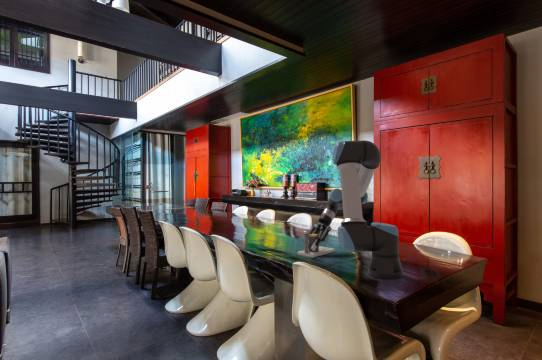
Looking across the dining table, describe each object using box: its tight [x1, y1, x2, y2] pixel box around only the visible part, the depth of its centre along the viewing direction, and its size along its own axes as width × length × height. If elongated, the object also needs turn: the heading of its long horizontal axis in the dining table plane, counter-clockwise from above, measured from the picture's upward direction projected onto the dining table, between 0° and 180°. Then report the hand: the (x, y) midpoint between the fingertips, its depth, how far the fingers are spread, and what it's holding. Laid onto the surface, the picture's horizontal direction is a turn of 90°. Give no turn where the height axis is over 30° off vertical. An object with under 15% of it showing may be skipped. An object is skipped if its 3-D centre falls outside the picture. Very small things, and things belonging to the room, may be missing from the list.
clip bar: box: [292, 227, 310, 235], centre depth 176 cm, size 17×3×2 cm, turn 22°
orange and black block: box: [308, 233, 319, 252], centre depth 173 cm, size 4×4×11 cm
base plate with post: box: [297, 234, 336, 259], centre depth 175 cm, size 21×11×13 cm, turn 132°
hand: (309, 249), depth 171 cm, fingers closed on orange and black block, 4 cm apart
